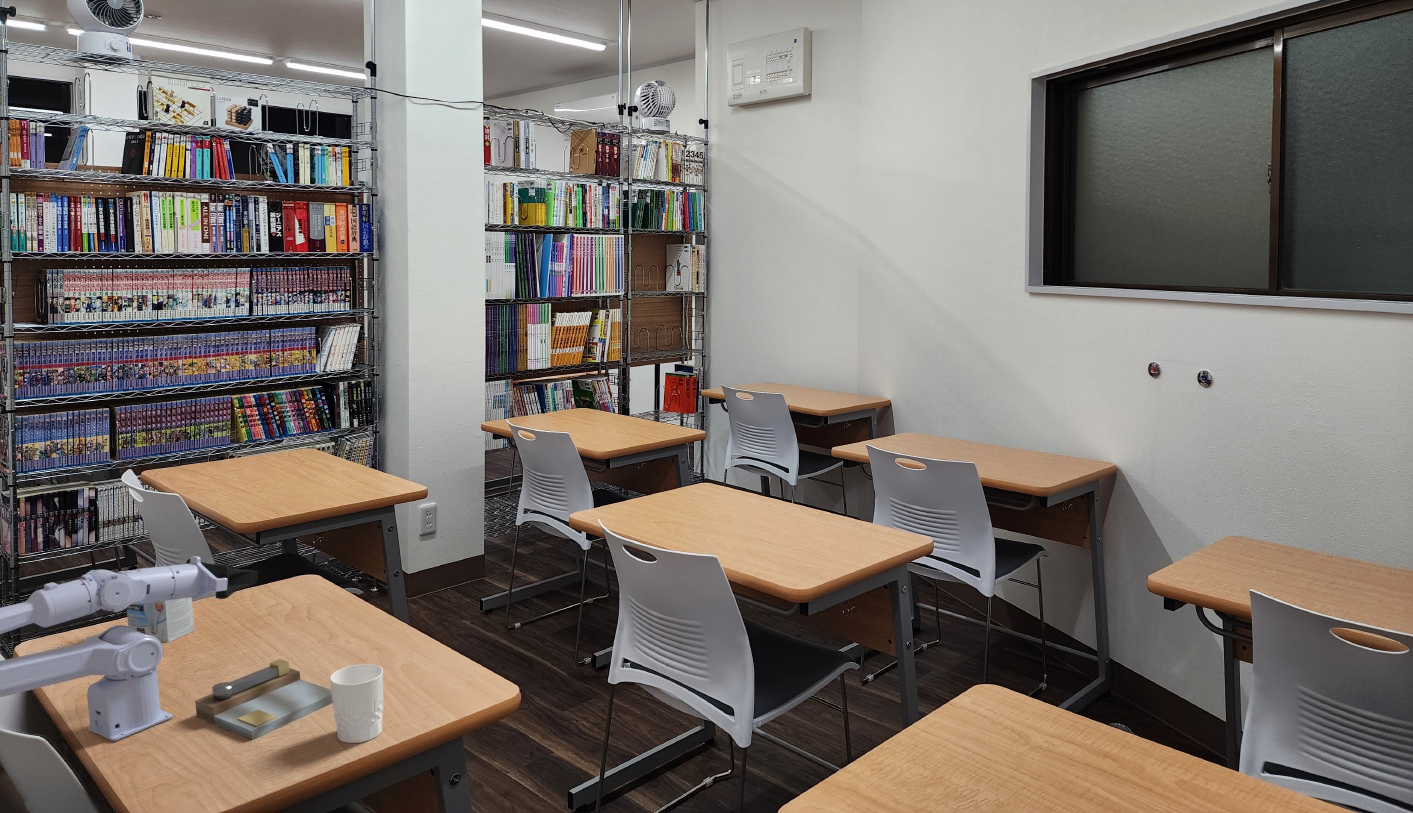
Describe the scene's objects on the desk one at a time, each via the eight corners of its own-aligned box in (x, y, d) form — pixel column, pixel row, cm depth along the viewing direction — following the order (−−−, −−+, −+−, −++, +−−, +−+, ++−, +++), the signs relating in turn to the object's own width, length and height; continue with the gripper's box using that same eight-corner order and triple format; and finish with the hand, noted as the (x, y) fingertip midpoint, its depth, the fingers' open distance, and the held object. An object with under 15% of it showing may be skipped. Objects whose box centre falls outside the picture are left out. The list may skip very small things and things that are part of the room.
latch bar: (220, 701, 153) (219, 690, 152) (209, 697, 154) (208, 686, 154) (290, 672, 164) (289, 662, 163) (279, 669, 165) (278, 658, 165)
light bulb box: (127, 637, 189) (122, 586, 187) (155, 625, 195) (151, 575, 194) (169, 643, 186) (164, 591, 184) (196, 630, 192) (192, 580, 191)
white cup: (334, 726, 151) (330, 668, 149) (385, 718, 153) (382, 660, 152) (333, 749, 143) (329, 688, 142) (387, 740, 146) (383, 680, 145)
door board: (252, 739, 146) (251, 721, 146) (196, 717, 154) (195, 699, 154) (338, 700, 160) (337, 683, 160) (283, 681, 168) (281, 665, 167)
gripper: (191, 564, 151) (269, 556, 162) (144, 554, 159) (222, 547, 170) (188, 607, 151) (266, 596, 162) (142, 595, 159) (220, 585, 170)
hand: (244, 574), depth 166 cm, fingers open, 7 cm apart
